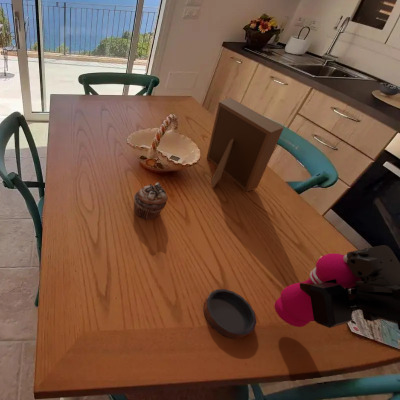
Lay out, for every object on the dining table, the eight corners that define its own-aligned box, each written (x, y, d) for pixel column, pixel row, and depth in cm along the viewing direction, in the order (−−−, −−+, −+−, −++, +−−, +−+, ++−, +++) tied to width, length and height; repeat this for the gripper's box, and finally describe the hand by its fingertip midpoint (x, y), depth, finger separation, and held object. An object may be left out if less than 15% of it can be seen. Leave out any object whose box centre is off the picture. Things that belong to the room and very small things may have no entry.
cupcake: (150, 197, 89) (157, 173, 83) (168, 217, 83) (177, 193, 76) (125, 204, 86) (131, 180, 79) (142, 225, 80) (149, 201, 73)
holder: (260, 325, 60) (266, 321, 58) (229, 347, 56) (234, 343, 54) (224, 287, 66) (228, 282, 64) (193, 305, 62) (197, 300, 61)
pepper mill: (265, 309, 58) (321, 252, 45) (280, 291, 61) (336, 233, 48) (301, 337, 54) (375, 283, 41) (315, 315, 57) (387, 259, 44)
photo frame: (214, 156, 110) (242, 96, 93) (255, 189, 95) (298, 125, 78) (184, 162, 106) (208, 99, 89) (222, 197, 91) (259, 131, 74)
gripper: (464, 243, 39) (341, 235, 54) (366, 264, 35) (264, 249, 51) (477, 319, 39) (350, 290, 54) (380, 348, 35) (273, 308, 50)
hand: (310, 283), depth 52 cm, fingers closed on pepper mill, 5 cm apart
